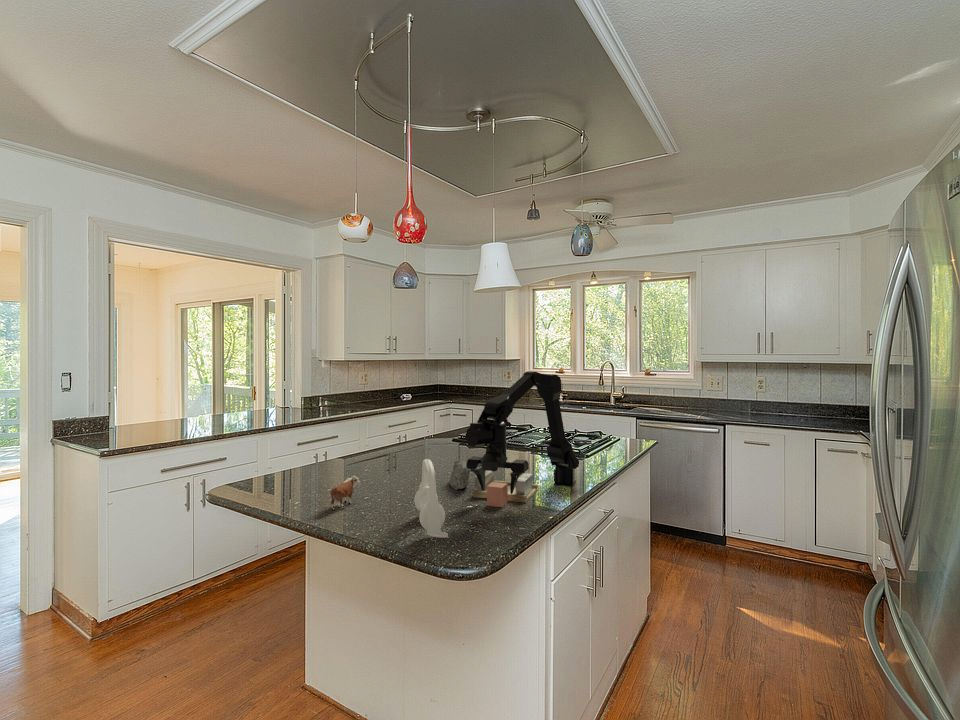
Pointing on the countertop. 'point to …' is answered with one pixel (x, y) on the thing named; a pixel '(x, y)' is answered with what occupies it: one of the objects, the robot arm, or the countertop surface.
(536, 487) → the vise base
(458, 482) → the rock
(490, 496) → the block
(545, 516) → the countertop surface
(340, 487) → the bull figurine
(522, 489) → the jaw
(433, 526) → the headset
